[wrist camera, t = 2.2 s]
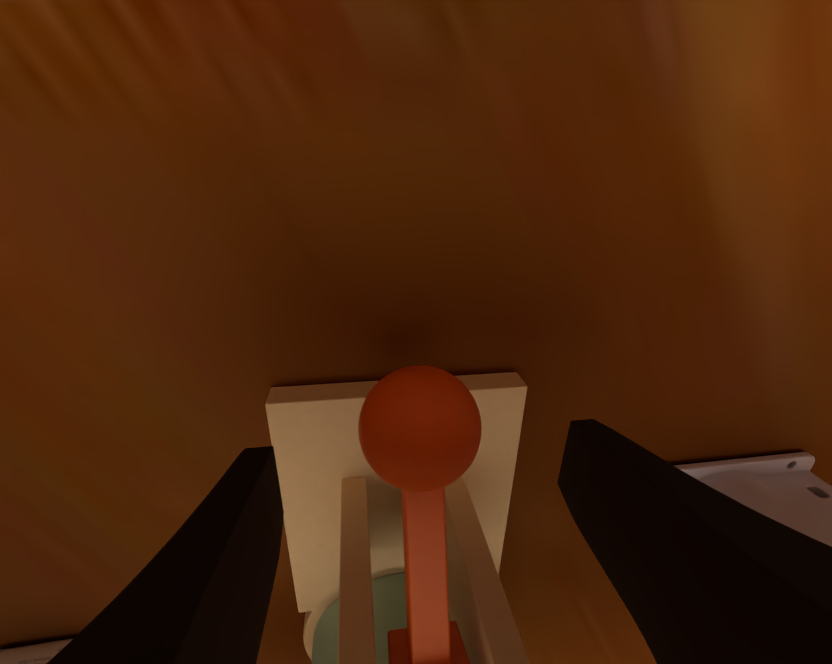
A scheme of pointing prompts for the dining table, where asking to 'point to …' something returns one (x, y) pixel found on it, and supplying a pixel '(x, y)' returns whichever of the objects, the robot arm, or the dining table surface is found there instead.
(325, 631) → the kettle
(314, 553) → the switch bracket
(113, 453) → the dining table surface
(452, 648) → the switch
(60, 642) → the medicine box
